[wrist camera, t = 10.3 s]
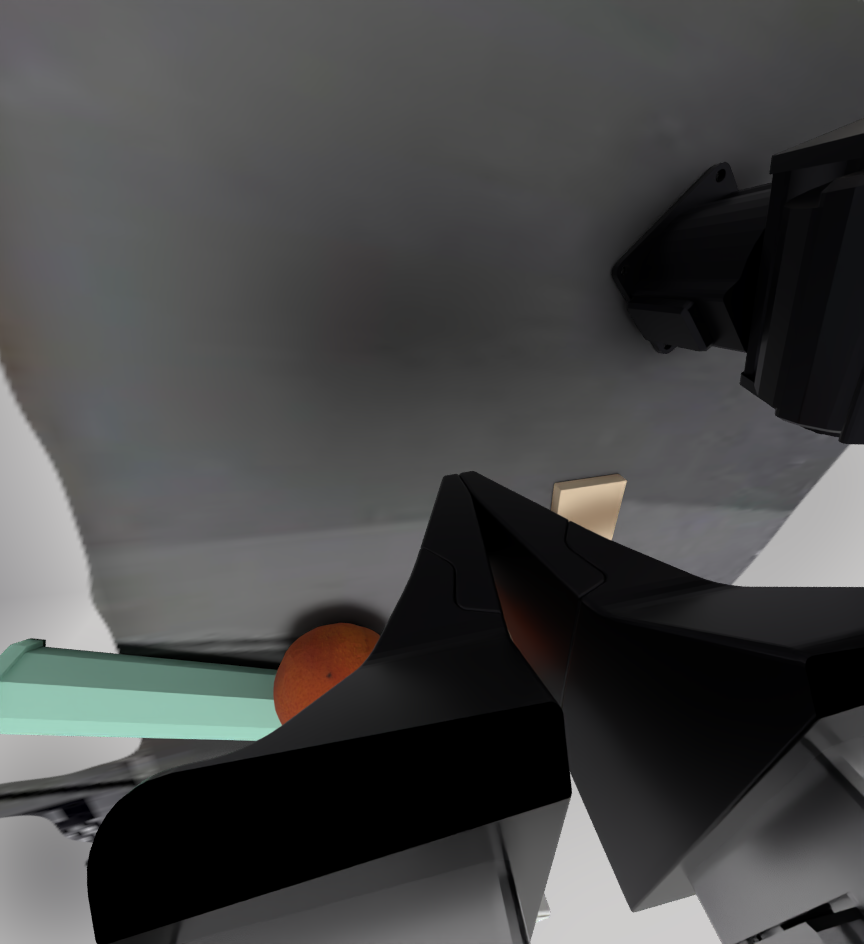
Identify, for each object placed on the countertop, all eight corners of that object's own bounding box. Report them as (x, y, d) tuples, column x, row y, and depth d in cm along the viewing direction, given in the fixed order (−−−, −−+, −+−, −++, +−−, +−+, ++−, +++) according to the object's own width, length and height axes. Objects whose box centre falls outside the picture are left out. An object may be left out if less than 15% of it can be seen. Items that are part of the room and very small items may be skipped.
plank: (554, 483, 25) (560, 490, 24) (618, 473, 25) (626, 480, 24) (524, 713, 41) (527, 722, 40) (562, 704, 42) (567, 713, 41)
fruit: (400, 602, 29) (410, 705, 22) (380, 667, 32) (383, 771, 26) (288, 597, 26) (259, 710, 19) (281, 667, 30) (255, 781, 23)
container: (363, 749, 28) (-69, 741, 19) (342, 750, 32) (-23, 743, 23) (371, 666, 31) (16, 627, 23) (352, 676, 35) (43, 647, 27)
